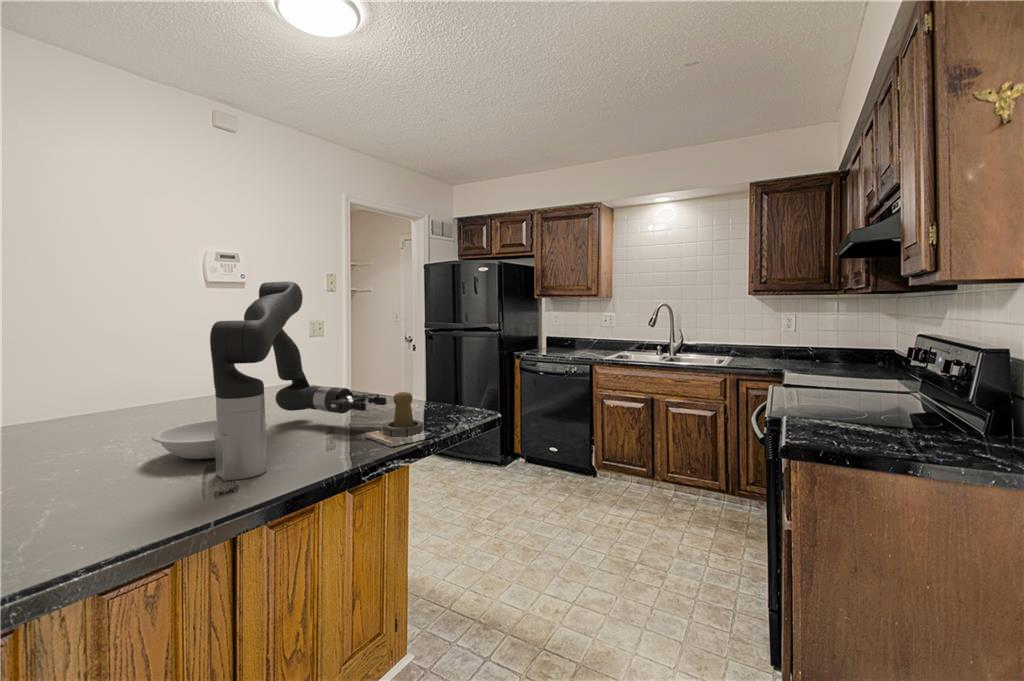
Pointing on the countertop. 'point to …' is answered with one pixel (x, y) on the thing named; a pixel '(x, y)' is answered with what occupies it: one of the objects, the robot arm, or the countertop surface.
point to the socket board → (397, 431)
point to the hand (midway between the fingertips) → (375, 404)
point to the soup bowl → (189, 439)
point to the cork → (403, 410)
